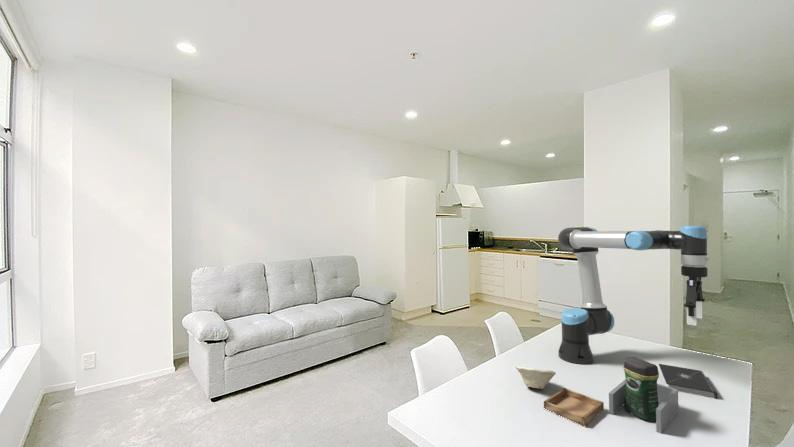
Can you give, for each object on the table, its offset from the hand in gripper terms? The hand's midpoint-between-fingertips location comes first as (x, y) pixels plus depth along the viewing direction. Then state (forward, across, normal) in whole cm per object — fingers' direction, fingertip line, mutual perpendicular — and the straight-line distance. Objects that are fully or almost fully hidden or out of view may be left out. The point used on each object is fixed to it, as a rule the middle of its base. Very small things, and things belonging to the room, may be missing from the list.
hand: (694, 321), depth 126 cm
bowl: (+28, -40, +43) cm, 65 cm away
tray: (+28, -46, +27) cm, 60 cm away
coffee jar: (+28, -31, +10) cm, 43 cm away
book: (+29, +9, +4) cm, 31 cm away
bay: (+28, -29, +10) cm, 42 cm away
